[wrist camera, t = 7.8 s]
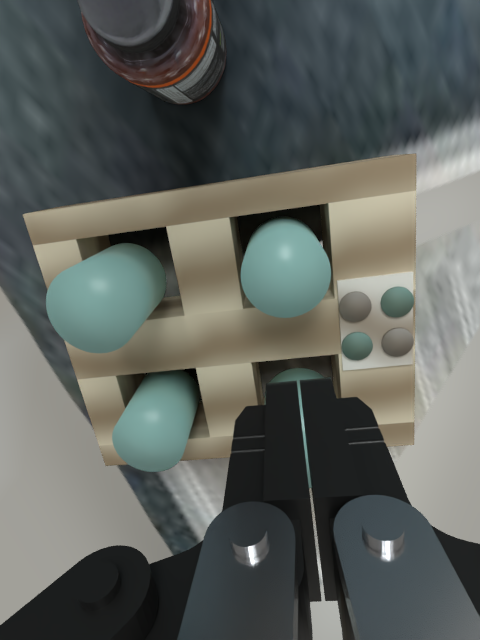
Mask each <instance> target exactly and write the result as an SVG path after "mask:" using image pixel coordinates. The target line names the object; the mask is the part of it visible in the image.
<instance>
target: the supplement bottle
mask: <svg viewBox="0 0 480 640" xmlns="http://www.w3.org/2000/svg"><path fill="white" fill-rule="evenodd" d="M77 1H78V4H79V7H80V9H81V14H82V21H83V24H84V28H85V31H86V34H87V36H88V38H89V40H90V43H91V45H92V46H93V48H94V50H95V51H96V53H97V54H98V56H99V57H100V58H101V59H102V61H103V62H104V63H105V64H106V65H107V66H108V67H109V68H110V69H111V70H112V71H114V72H115V73H116V74H118V75H119V76H121V77H123V78H124V79H126V80H128V81H129V82H130V83H132V84H134V85H136V86H138V87H140V88H142V89H144V90H146V91H148V92H149V93H151V94H153V95H155V96H156V97H158V98H160V99H162V100H163V101H164V102H166V101H167V102H169V103H174V104H191V103H195V102H197V101H200V100H202V99H203V98H205V97H206V96H207V95H209V94H210V93H211V92H212V91H213V90H214V88H215V87H216V86H217V84H218V82H219V81H220V79H221V76H222V74H223V71H224V68H225V62H226V42H225V36H224V32H223V29H222V25H221V22H220V20H219V18H218V15H217V12H216V9H215V6H214V4H213V1H212V0H77Z"/></svg>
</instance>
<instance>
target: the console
mask: <svg viewBox="0 0 480 640" xmlns="http://www.w3.org/2000/svg"><path fill="white" fill-rule="evenodd" d="M319 204H320V214H321V227H322V241H323V249H324V251H325V253H326V254H327V257H328V259H329V262H330V267H331V279H330V284H329V288H328V290H327V292H326V294H325V296H324V298H323V299H322V300H321V301H320V303H319V304H318V305H317V306H315V307H314V308H313V309H312V310H310V311H308V312H307V313H304V314H302V315H299V316H296V317H291V318H279V317H274V316H270V315H267V314H265V313H263V312H262V311H260V310H258V309H257V308H256V307H255V306H254V305H253V304H252V303H251V302H250V301H249V300H248V298H247V297H246V295H245V293H244V290H243V288H242V283H241V267H242V263H243V254H242V247H241V240H240V233H239V226H238V219H237V216H242V215H249V214H256V213H263V212H270V211H277V210H284V209H291V208H298V207H305V206H312V205H319ZM23 217H24V220H25V223H26V226H27V229H28V232H29V235H30V238H31V241H32V244H33V247H34V250H35V253H36V256H37V259H38V262H39V265H40V268H41V271H42V274H43V277H44V280H45V283H46V287H47V290H48V288H49V286H50V284H51V282H52V281H53V280H54V278H55V277H56V276H57V275H58V274H60V273H61V272H62V271H64V270H66V269H68V268H70V267H72V266H74V265H76V264H78V263H80V262H82V261H84V260H85V259H87V258H89V257H91V256H93V255H95V254H97V253H99V252H101V251H103V250H105V249H107V248H109V247H111V245H110V241H109V237H108V235H110V234H117V233H124V232H131V231H138V230H145V229H152V228H159V227H166V229H167V233H168V238H169V243H170V248H171V252H172V257H173V262H174V267H175V272H176V276H177V281H178V286H179V291H180V295H181V296H173V297H164V298H163V299H162V300H161V302H160V303H159V304H158V306H157V307H156V308H155V309H154V310H153V312H152V313H151V314H150V315H149V317H148V318H147V319H146V320H145V322H144V323H143V324H142V325H141V326H140V328H139V329H138V330H137V331H136V333H135V334H134V335H133V336H132V338H131V339H130V340H129V341H128V342H127V343H126V344H125V345H124V346H122V347H121V348H119V349H117V350H115V351H112V352H108V353H90V352H86V351H83V350H80V349H78V348H76V347H74V346H72V345H71V344H69V343H68V342H66V341H65V340H64V341H65V344H66V347H67V350H68V353H69V356H70V359H71V362H72V365H73V368H74V371H75V374H76V377H77V380H78V383H79V386H80V389H81V392H82V395H83V398H84V401H85V405H86V408H87V411H88V414H89V417H90V420H91V423H92V426H93V429H94V432H95V435H96V438H97V441H98V444H99V447H100V450H101V453H102V456H103V459H104V462H105V465H106V466H109V465H110V466H111V465H125V464H127V463H126V462H125V461H124V460H122V458H121V457H120V456H119V455H118V454H117V452H116V450H115V448H114V446H113V441H112V433H113V430H114V427H115V425H116V424H117V422H118V420H119V419H120V417H121V415H122V414H123V412H124V410H125V409H126V407H127V405H128V404H129V402H130V400H131V399H132V397H133V395H134V394H135V392H136V390H137V389H138V387H139V385H140V384H141V382H142V380H143V379H144V377H145V374H144V373H149V372H160V371H170V370H180V369H190V368H196V372H197V377H198V381H199V386H200V391H201V396H202V401H203V403H199V404H198V408H197V411H196V414H195V417H194V421H193V424H192V427H191V431H190V434H189V437H188V440H187V444H186V447H185V450H184V453H183V456H182V458H181V459H180V461H184V460H198V459H213V458H228V457H230V454H231V447H232V440H233V432H234V425H235V420H236V419H237V417H238V416H239V415H240V413H241V412H242V411H243V409H244V408H245V407H246V406H255V405H265V397H263V390H262V383H261V377H260V370H259V363H258V362H262V361H272V360H283V359H293V358H303V357H314V356H324V355H331V362H332V375H333V387H334V391H335V395H336V398H348V397H358V398H359V399H360V400H361V401H363V402H364V403H365V404H366V405H367V406H369V407H370V408H371V409H372V411H373V413H374V416H375V418H376V421H377V423H378V427H379V429H380V431H381V433H382V436H383V438H384V443H386V446H387V447H388V446H403V445H414V397H415V268H416V154H403V155H391V156H384V157H378V158H371V159H365V160H358V161H352V162H345V163H339V164H332V165H326V166H319V167H313V168H307V169H300V170H294V171H287V172H281V173H274V174H268V175H261V176H255V177H248V178H242V179H236V180H229V181H223V182H216V183H210V184H203V185H197V186H190V187H184V188H177V189H171V190H164V191H158V192H152V193H145V194H139V195H132V196H126V197H119V198H113V199H106V200H100V201H93V202H87V203H81V204H74V205H68V206H61V207H56V208H51V209H46V210H41V211H36V212H31V213H26V214H23Z"/></svg>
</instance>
